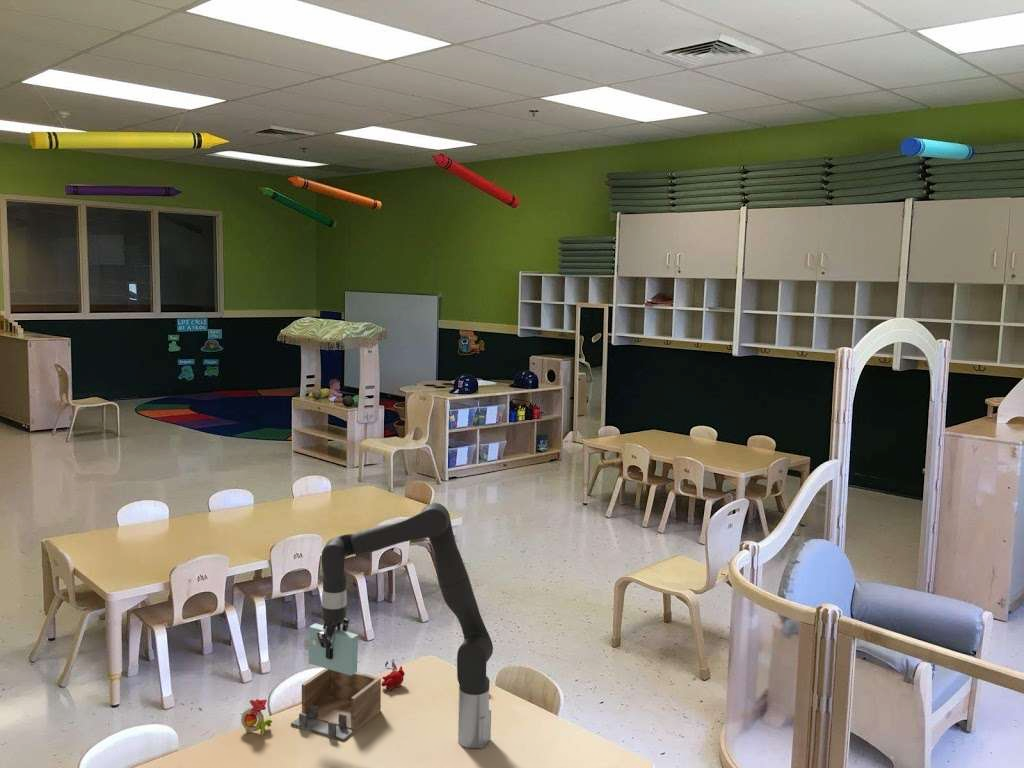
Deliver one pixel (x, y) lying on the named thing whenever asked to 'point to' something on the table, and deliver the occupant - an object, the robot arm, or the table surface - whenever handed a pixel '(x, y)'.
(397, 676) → the figurine
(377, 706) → the cabinet
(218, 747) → the table surface
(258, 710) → the bird rattle
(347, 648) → the door
